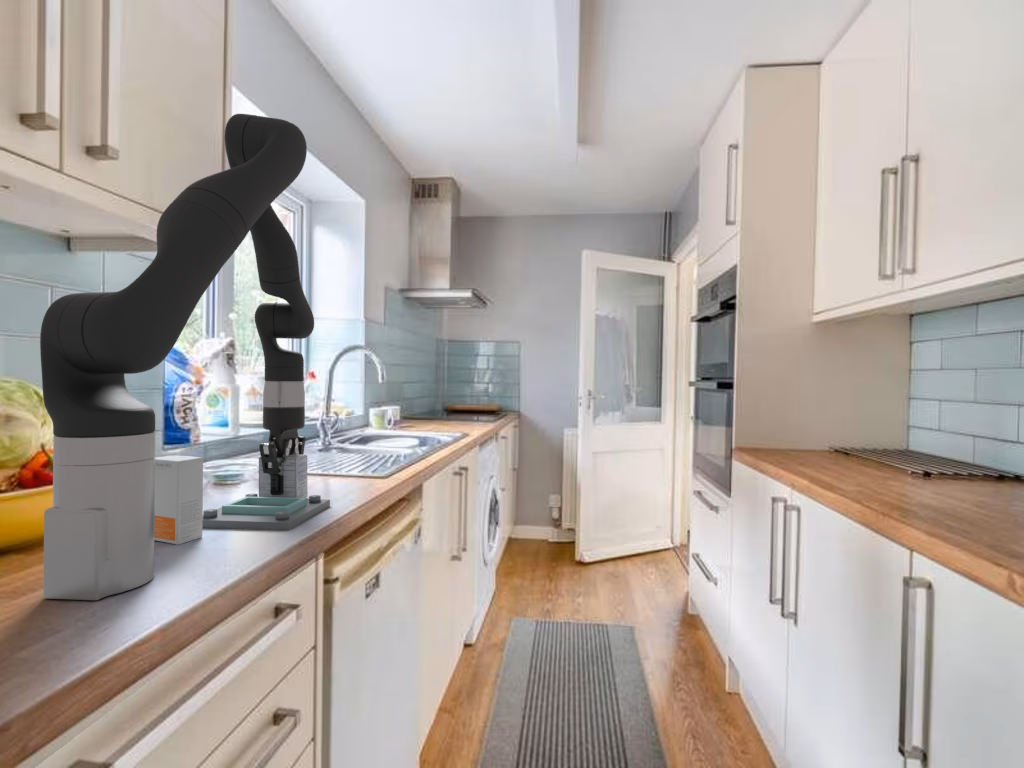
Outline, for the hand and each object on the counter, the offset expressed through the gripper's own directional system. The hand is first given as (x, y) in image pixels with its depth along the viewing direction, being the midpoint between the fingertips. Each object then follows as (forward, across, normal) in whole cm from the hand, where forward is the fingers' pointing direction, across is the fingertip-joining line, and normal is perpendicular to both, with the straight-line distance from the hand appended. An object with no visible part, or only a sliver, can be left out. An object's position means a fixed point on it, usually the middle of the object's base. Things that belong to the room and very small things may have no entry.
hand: (283, 491), depth 103 cm
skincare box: (+2, -26, +3) cm, 26 cm away
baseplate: (+2, -12, -3) cm, 12 cm away
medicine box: (+2, 0, 0) cm, 2 cm away
